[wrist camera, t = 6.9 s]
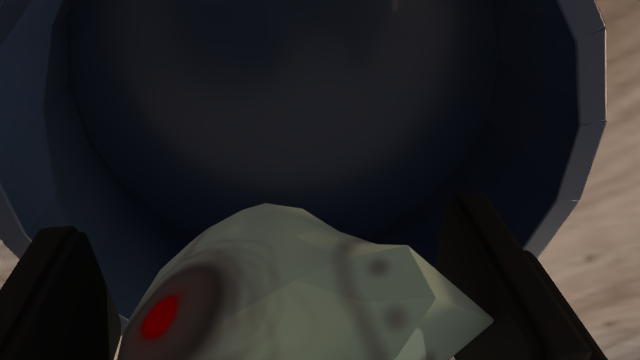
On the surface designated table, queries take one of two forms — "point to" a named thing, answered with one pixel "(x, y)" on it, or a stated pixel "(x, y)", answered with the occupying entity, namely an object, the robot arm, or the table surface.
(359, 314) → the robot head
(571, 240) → the table surface
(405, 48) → the tin
